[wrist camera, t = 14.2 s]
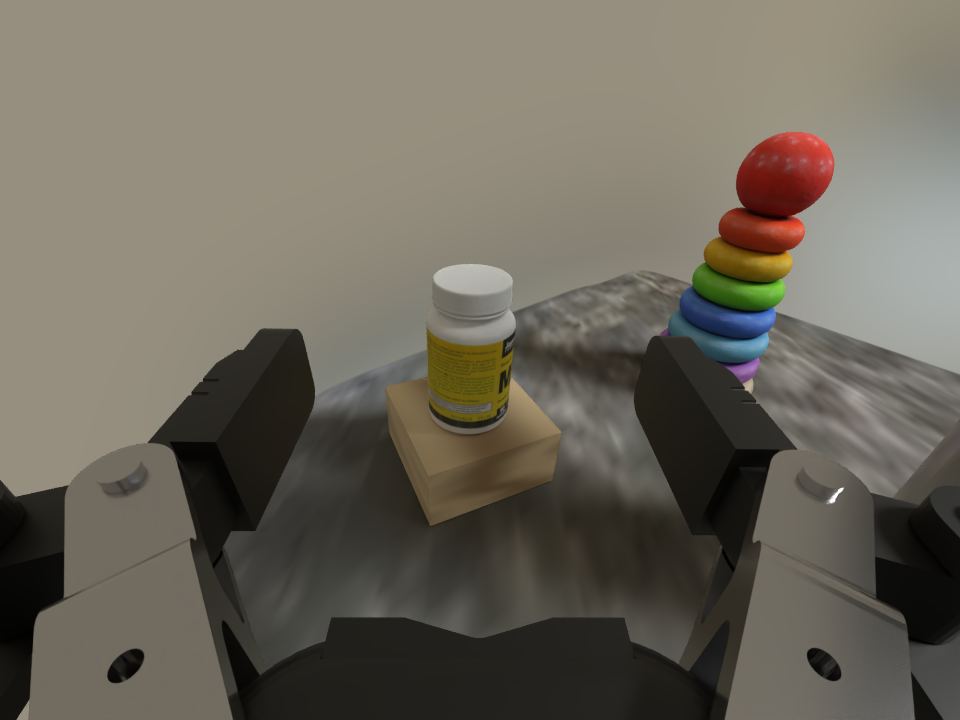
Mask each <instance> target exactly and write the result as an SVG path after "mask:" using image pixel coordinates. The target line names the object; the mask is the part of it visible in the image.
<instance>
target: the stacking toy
mask: <svg viewBox="0 0 960 720" xmlns="http://www.w3.org/2000/svg"><path fill="white" fill-rule="evenodd" d="M833 171H834V159H833V155H832V152H831V150H830V148H829V147H828V145H827V144H826V143H825V142H824V141H823V140H821V139H820V138H818V137H817V136H814V135H812V134H809V133H804V132H787V133H782V134H778V135H775V136H772V137H770V138H768V139H766V140H764V141H763V142H761V143H760V144H758V145H757V146H756V147H755V148H754V149H752V151H751V152H750V153H749V154H748V155H747V157H746V158H745V159H744V161H743V162H742V164H741V166H740V168H739V171H738V174H737V180H736V190H737V194H738V197H739V200H740V202H741V203H742V205H743V206H744V207H746V208H735V209H732V210H730V211H728V212H727V213H726V214H725V215H724V216H723V217H722V218H721V220H720V222H719V233H720V235H721V237H718V238H715V239H713V240H712V241H711V242H710V243H709V244H708V245H707V246H706V248H705V250H704V259H705V261H706V262H705V263H703V264H701V265H700V266H699V267H698V268H697V269H696V271H695V272H694V274H693V280H692V281H693V286H691V287H690V288H688V289H687V290H686V291H685V292H684V293H683V294H682V296H681V299H680V304H679V305H680V309H678V310H677V311H676V312H674V313H673V315H672V316H671V318H670V320H669V324H668V328H667V329H666V330H664V331H663V332H662V333H661V334H660V336H688V337H690V338H691V339H692V340H693V341H694V342H695V343H696V345H697V346H698V347H699V348H700V350H701V351H702V352H703V353H704V355H705V356H706V357H707V358H712V359H714V360H715V361H717V362H718V363H720V364H721V365H723V366H724V367H726V368H727V369H729V370H730V371H732V372H733V374H734V375H735V376H736V377H737V378H738V379H739V381H740V382H741V383H742V384H743V385H744V387H745V391H749V393H750V394H751V393H752V390H753V380H752V377H753V376H754V375H755V374H756V372H757V371H758V368H759V357H760V356H761V355H762V354H763V353H764V352H765V350H766V349H767V346H768V342H769V339H768V334H767V331H769V330H770V329H771V327H772V326H773V324H774V322H775V317H776V314H775V310H774V308H773V307H774V306H776V305H777V304H778V303H779V302H780V301H781V300H782V298H783V297H784V294H785V285H784V283H783V281H782V280H781V278H783V277H785V276H786V275H787V274H788V273H789V271H790V269H791V267H792V257H791V255H790V254H789V253H788V252H787V250H790V249H793V248H794V247H795V246H797V245H798V244H799V243H800V242H801V241H802V239H803V237H804V234H805V227H804V225H803V223H802V222H801V221H800V220H799V219H797V218H794V217H793V216H792V215H795V214H797V213H799V212H802V211H803V210H805V209H806V208H808V207H809V206H811V205H812V204H814V203H815V201H817V200H818V198H820V197H821V195H822V194H823V193H824V192H825V190H826V189H827V187H828V185H829V184H830V181H831V179H832V176H833Z"/></svg>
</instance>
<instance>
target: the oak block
mask: <svg viewBox="0 0 960 720" xmlns="http://www.w3.org/2000/svg"><path fill="white" fill-rule="evenodd" d="M385 392H386V402H387V413H388V423H389V433H390V436H391V438H392V440H393V443H394V445H395V447H396V449H397V452H398V454H399V456H400V459H401V461H402V463H403V465H404V468H405V470H406V472H407V474H408V477H409V479H410V481H411V484H412V486H413V488H414V490H415V493H416V495H417V497H418V500H419V502H420V504H421V506H422V509H423V511H424V513H425V515H426V518H427V520H428V522H429V525H430V526H433V525H435V524H438V523H441V522H443V521H446V520H449V519H451V518H454V517H457V516H459V515H462V514H465V513H467V512H470V511H473V510H475V509H478V508H481V507H483V506H486V505H489V504H491V503H494V502H497V501H499V500H502V499H504V498H507V497H510V496H512V495H515V494H518V493H520V492H523V491H526V490H528V489H531V488H534V487H536V486H539V485H542V484H544V483H547V482H550V481H552V480H553V475H554V470H555V464H556V459H557V454H558V449H559V444H560V439H561V433H562V432H561V431H560V430H559V429H558V428H557V427H556V425H555V424H554V423H553V422H552V421H551V420H550V419H549V418H548V417H547V416H546V415H545V413H544V412H543V411H542V410H541V409H540V408H539V407H538V406H537V405H536V404H535V402H534V401H533V400H532V399H531V398H530V397H529V396H528V395H527V394H526V393H525V391H524V390H523V389H522V388H521V387H520V386H519V385H518V384H517V383H516V382H515V380H514V379H513V378H512V377H511V380H510V390H509V401H508V410H507V414H506V416H505V418H504V420H503V421H502V422H501V423H500V424H499V425H498V426H497V427H495V428H494V429H492V430H489V431H487V432H483V433H478V434H458V433H454V432H450V431H448V430H446V429H444V428H442V427H440V426H439V425H438V424H437V423H436V422H435V421H434V420H433V419H432V417H431V415H430V412H429V408H428V377H425V378H421V379H416V380H412V381H408V382H404V383H399V384H395V385H391V386H386V387H385Z"/></svg>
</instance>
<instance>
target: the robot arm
mask: <svg viewBox="0 0 960 720" xmlns="http://www.w3.org/2000/svg"><path fill="white" fill-rule="evenodd" d="M314 399H315V387H314V382H313V378H312V373H311V369H310V365H309V360H308V357H307V352H306V348H305V344H304V340H303V336H302V334H301V332H300V331H299V330H298V329H265V328H264V329H261V330H259V332H258V333H257V334H256V335H255V336H254V338H253V339H252V340H251V341H250V343H249V344H248V345H247V346H246V348H245V349H244V350H237V351H235V352H233V353H232V354H231V355H229V356H227V357H226V358H224V359H222V360H221V361H219V362H218V363H216V364H215V365H214V367H213V368H212V369H211V370H210V371H209V372H208V374H207V375H206V376H205V377H204V378H203V382H200V383H199V384H198V385H197V386H196V387H195V388H194V390H193V391H192V395H190V396H188V397H187V398H186V399H185V400H184V401H183V402H182V404H181V405H180V406H179V407H178V408H177V409H176V411H175V412H174V413H173V414H172V415H171V416H170V417H169V418H168V420H167V421H166V422H165V423H164V424H163V425H162V427H161V428H160V429H159V430H158V431H157V432H156V434H155V435H154V436H153V437H152V438H151V439H150V440H149V442H148V443H144V444H136V445H132V446H128V447H125V448H121V449H118V450H116V451H114V452H111V453H109V454H107V455H105V456H103V457H101V458H99V459H98V460H96V461H94V462H93V463H91V464H90V465H88V466H87V467H86V468H84V469H83V470H82V471H81V472H80V473H79V474H78V475H77V476H76V477H75V478H74V479H73V481H72V482H71V483H70V485H68V486H64V487H59V488H54V489H49V490H45V491H40V492H36V493H31V494H27V495H22V496H18V497H15V496H14V495H13V494H12V493H11V491H9V489H8V488H7V487H6V486H5V485H4V484H3V482H1V480H0V720H16V719H17V718H18V716H19V715H20V713H21V711H22V710H23V709H24V707H25V705H26V704H27V702H28V701H29V699H30V705H29V720H960V420H959V421H958V422H957V423H956V425H955V426H954V427H953V428H952V429H951V431H950V432H949V433H948V434H947V435H946V436H945V438H944V439H943V440H942V441H941V442H940V443H939V445H938V446H937V447H936V448H935V449H934V450H933V452H932V453H931V454H930V455H929V456H928V457H927V459H926V460H925V461H924V462H923V463H922V465H921V466H920V467H919V468H918V469H917V470H916V472H915V473H914V474H913V475H912V476H911V477H910V479H909V480H908V481H907V482H906V483H905V484H904V486H903V487H902V488H901V489H900V490H899V491H898V492H897V493H896V494H895V496H894V497H893V498H889V497H885V496H881V495H877V494H873V493H870V492H869V490H868V489H867V487H866V486H865V485H864V484H863V482H862V481H861V480H860V479H859V478H858V477H856V476H855V475H854V474H853V473H852V472H850V471H849V470H848V469H846V468H845V467H843V466H842V465H840V464H838V463H836V462H834V461H833V460H831V459H828V458H826V457H824V456H821V455H818V454H815V453H812V452H808V451H802V450H797V448H796V447H795V446H794V445H793V444H792V442H791V441H790V440H789V439H788V438H787V436H786V435H785V434H784V433H783V432H782V431H781V429H780V428H779V427H778V426H777V425H776V423H775V422H774V421H773V420H772V419H771V417H770V416H769V415H768V414H767V413H766V412H765V410H764V409H763V408H762V407H761V406H760V404H756V400H755V398H754V397H753V396H752V395H751V394H750V393H749V391H745V387H744V385H743V384H742V383H741V382H740V381H739V379H738V378H737V377H736V376H735V375H734V374H733V372H732V371H730V370H729V369H727V368H726V367H724V366H723V365H721V364H720V363H718V362H717V361H715V360H714V359H712V358H707V357H706V356H705V355H704V353H703V352H702V351H701V350H700V348H699V347H698V346H697V345H696V343H695V342H694V341H693V340H692V339H691V338H690V337H688V336H654V337H652V338H651V340H650V342H649V344H648V347H647V350H646V354H645V357H644V361H643V364H642V367H641V371H640V374H639V378H638V381H637V385H636V388H635V394H634V405H635V411H636V414H637V417H638V419H639V421H640V423H641V425H642V428H643V430H644V432H645V434H646V436H647V438H648V441H649V443H650V445H651V447H652V449H653V451H654V453H655V456H656V458H657V460H658V462H659V464H660V466H661V468H662V471H663V473H664V475H665V477H666V479H667V481H668V484H669V486H670V488H671V490H672V492H673V494H674V496H675V499H676V501H677V503H678V505H679V507H680V509H681V511H682V514H683V516H684V518H685V520H686V522H687V524H688V526H689V529H690V531H691V533H692V535H717V537H718V539H719V541H720V543H721V547H720V548H719V550H718V552H717V554H716V556H715V560H714V563H713V566H712V569H711V573H710V576H709V579H708V582H707V586H706V589H705V592H704V595H703V599H702V602H701V605H700V609H699V612H698V615H697V618H696V622H695V625H694V628H693V631H692V634H691V637H690V639H689V642H688V644H687V646H686V649H685V651H684V653H683V655H682V657H681V659H680V662H679V664H677V663H676V662H674V661H672V660H670V659H669V658H667V657H665V656H663V655H661V654H660V653H658V652H656V651H654V650H651V649H649V648H647V647H644V646H642V645H639V644H637V643H633V642H630V638H629V634H628V631H627V627H626V623H625V620H624V618H550V619H547V620H543V621H540V622H537V623H533V624H530V625H527V626H523V627H520V628H516V629H513V630H510V631H506V632H503V633H499V634H496V635H493V636H489V637H485V638H473V637H469V636H465V635H462V634H459V633H455V632H452V631H448V630H445V629H442V628H438V627H435V626H431V625H428V624H424V623H421V622H418V621H414V620H411V619H407V618H331V621H330V625H329V629H328V633H327V637H326V641H325V642H322V643H318V644H315V645H313V646H310V647H308V648H306V649H303V650H301V651H299V652H296V653H295V654H293V655H291V656H289V657H287V658H286V659H284V660H282V661H280V662H278V663H277V664H275V665H274V666H273V667H271V668H270V669H268V670H267V667H266V665H265V662H264V660H263V658H262V655H261V653H260V651H259V649H258V646H257V644H256V641H255V639H254V636H253V633H252V631H251V628H250V624H249V621H248V618H247V615H246V612H245V609H244V606H243V602H242V599H241V596H240V593H239V590H238V587H237V584H236V580H235V577H234V574H233V571H232V568H231V565H230V562H229V558H228V555H227V553H226V551H225V549H224V547H223V546H224V544H225V542H226V540H227V538H228V536H229V534H230V532H231V531H255V530H256V528H257V526H258V524H259V522H260V520H261V518H262V516H263V513H264V511H265V509H266V507H267V505H268V503H269V501H270V498H271V496H272V494H273V492H274V490H275V488H276V486H277V484H278V481H279V479H280V477H281V475H282V473H283V471H284V469H285V467H286V464H287V462H288V460H289V458H290V456H291V454H292V452H293V450H294V447H295V445H296V443H297V441H298V439H299V437H300V435H301V433H302V430H303V428H304V426H305V424H306V422H307V420H308V418H309V416H310V413H311V411H312V409H313V405H314Z"/></svg>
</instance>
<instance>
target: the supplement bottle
mask: <svg viewBox="0 0 960 720" xmlns="http://www.w3.org/2000/svg"><path fill="white" fill-rule="evenodd" d="M512 283H513V282H512V278H511V276H510V275H509V274H508V273H506V272H505V271H503V270H501V269H498V268H495V267H491V266H486V265H479V264H463V265H454V266H449V267H446V268H443V269H441V270H439V271H438V272H436V273H435V274H434V276H433V286H432V300H433V305H434V306H433V308H432V309H431V310H430V311H429V313H428V315H427V320H426V326H427V327H426V330H427V365H428V408H429V412H430V415H431V417H432V419H433V420H434V421H435V422H436V423H437V424H438V425H439V426H440V427H442V428H444V429H446V430H448V431H450V432H454V433H458V434H478V433H483V432H487V431H489V430H492V429H494V428H495V427H497V426H498V425H499V424H500V423H501V422H502V421H503V420H504V418H505V416H506V414H507V410H508V401H509V390H510V380H511V370H512V359H513V349H514V338H515V330H516V322H515V318H514V315H513V313H512V312H511V311H510V310H509V309H510V307H511V303H512Z"/></svg>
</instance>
